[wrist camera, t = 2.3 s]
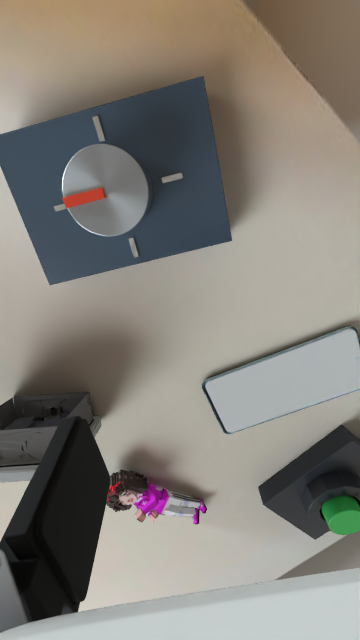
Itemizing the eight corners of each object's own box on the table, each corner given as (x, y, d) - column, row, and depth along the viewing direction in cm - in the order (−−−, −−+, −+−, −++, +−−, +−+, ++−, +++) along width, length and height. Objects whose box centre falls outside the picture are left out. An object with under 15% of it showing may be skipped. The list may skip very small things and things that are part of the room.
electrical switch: (14, 428, 32) (-47, 504, 24) (2, 383, 31) (-68, 446, 22) (104, 421, 32) (76, 495, 23) (96, 376, 31) (64, 437, 22)
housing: (341, 424, 33) (362, 454, 29) (390, 466, 35) (416, 498, 31) (257, 487, 36) (267, 520, 32) (307, 521, 38) (322, 556, 35)
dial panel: (199, 90, 22) (203, 74, 19) (225, 235, 25) (232, 241, 22) (11, 144, 23) (-14, 137, 20) (62, 275, 26) (48, 286, 23)
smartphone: (199, 383, 30) (356, 325, 28) (199, 380, 30) (353, 322, 28) (225, 436, 32) (371, 386, 30) (224, 432, 33) (367, 382, 31)
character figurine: (209, 482, 37) (116, 454, 33) (219, 527, 32) (111, 501, 29) (185, 510, 39) (94, 487, 35) (190, 556, 34) (87, 535, 31)
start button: (342, 488, 31) (351, 505, 30) (363, 505, 32) (373, 521, 31) (314, 507, 32) (321, 524, 31) (335, 523, 33) (343, 540, 32)
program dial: (141, 143, 20) (133, 131, 16) (161, 219, 22) (157, 225, 18) (71, 163, 20) (45, 156, 16) (95, 236, 22) (78, 246, 18)
